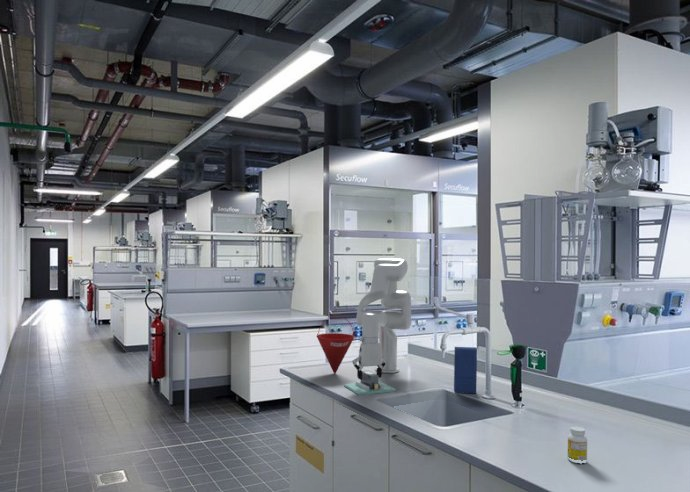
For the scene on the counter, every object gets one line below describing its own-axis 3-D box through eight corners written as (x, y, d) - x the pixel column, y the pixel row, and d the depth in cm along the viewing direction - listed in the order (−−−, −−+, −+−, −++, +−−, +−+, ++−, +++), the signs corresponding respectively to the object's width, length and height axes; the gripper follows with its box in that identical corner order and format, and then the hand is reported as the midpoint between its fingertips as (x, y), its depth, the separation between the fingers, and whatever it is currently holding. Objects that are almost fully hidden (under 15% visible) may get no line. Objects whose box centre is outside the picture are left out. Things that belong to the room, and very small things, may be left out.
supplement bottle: (584, 466, 148) (584, 433, 149) (565, 461, 152) (565, 428, 152) (589, 460, 152) (589, 428, 153) (570, 456, 156) (571, 424, 156)
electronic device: (474, 391, 231) (475, 347, 231) (476, 394, 225) (477, 349, 226) (453, 390, 231) (454, 346, 232) (454, 393, 226) (455, 348, 227)
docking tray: (344, 386, 235) (344, 378, 235) (378, 383, 242) (378, 375, 242) (359, 395, 220) (359, 386, 220) (395, 391, 228) (395, 383, 228)
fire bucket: (323, 379, 246) (325, 317, 247) (307, 371, 264) (309, 313, 264) (362, 375, 256) (363, 316, 257) (344, 367, 274) (345, 312, 274)
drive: (360, 384, 235) (360, 371, 235) (368, 383, 237) (368, 370, 237) (370, 389, 226) (370, 375, 226) (378, 388, 227) (378, 375, 228)
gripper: (356, 342, 225) (355, 381, 224) (390, 340, 232) (390, 378, 231) (349, 339, 232) (348, 377, 231) (383, 338, 239) (382, 374, 238)
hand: (369, 378), depth 231 cm, fingers open, 9 cm apart
